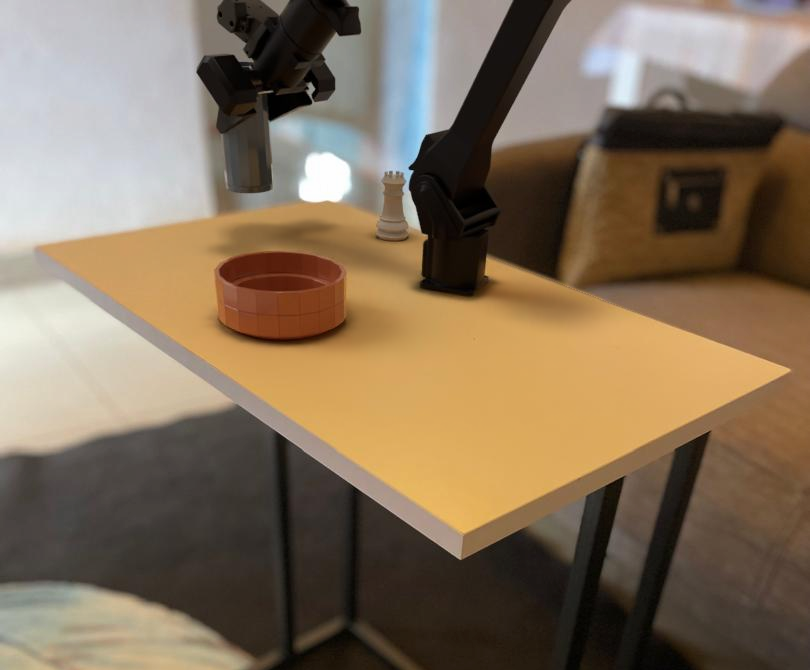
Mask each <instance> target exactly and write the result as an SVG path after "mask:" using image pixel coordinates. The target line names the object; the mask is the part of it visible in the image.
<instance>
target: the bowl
mask: <svg viewBox="0 0 810 670" xmlns="http://www.w3.org/2000/svg"><path fill="white" fill-rule="evenodd" d="M213 272H214V284H215V285H214V286H215V297H216V306H217V307H216V309H217V316H218V320H219V321H220V322H221V323H222V324H224V326H226V327H228V328H230V329H232V330H234V331H236V332H238V333H241V334H243V335H246V336H250V337H254V338H258V339H265V340H266V339H267V340H280V341H281V340H284V341H285V340H298V339H305V338H310V337H316V336H318V335H322V334H324V333H326V332H328V331H331V330H332V329H335V328H336V327H338V326H339V325H341V324H342V323H343V322H344V321H345V319H346V317H347V311H348V310H347V309H348V308H347V307H348V306H347V305H348V303H347V302H348V301H347V300H348V299H347V290H348V289H347V288H348V286H347V285H348V284H347V282H348V281H347V280H348V279H347V278H348V277H347V276H348V275H347V274H348V273H347V270H346V268H345V267H344V265H343V264H342V263H340V262H338V261H337V260H335V259H333V258H330V257H327V256H325V255H321V254H317V253H310V252H304V251H293V250H262V251H255V252H250V253H249V252H248V253H243V254H238V255H235V256H231V257H229V258H227V259H225V260H223V261H220V262H219V263H218V264H217V265H216V267H215V268H214V269H213Z"/></svg>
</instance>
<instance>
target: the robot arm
mask: <svg viewBox="0 0 810 670" xmlns="http://www.w3.org/2000/svg"><path fill="white" fill-rule="evenodd" d="M571 2H572V0H512V1H511V3H510V6H509V7H508V10H507V12H506V14H505V16H504V17H503V20H502V22H501V23H500V26H499V28H498V30H497V32H496V34H495V36H494V38H493V40H492V43H491V45H490V47H489V48H488V51H487V53H486V55H485V57H484V59H483V61H482V62H481V65H480V67H479V69H478V71H477V74H475V78H474V79H473V81H472V84H471V86H470V88H469V89H468V92H467V94H466V96H465V98H464V100H463V102H462V104H461V107H460V108H459V111H458V113H457V114H456V115H455V119H454V121H453V123H452V124H451V126H450V127H449V128H448V129H444V130H440V131H435V132H431V133H427V134H425V135H424V137H423V139H422V141H421V143H420V146H419V149H418V152H417V153H418V154H417V156H416V158H415V160H414V161H413V162H412V163H411V164H409V166H408V167H407V168H408V171H412V173H411V175H410V178H409V181H408V191H409V192H410V197H411V200H412V203H413V204H414V206H415V207H414V208H415V210H416V215H417V220H418V225H419V228H420V232H421V234H422V235H425V236H427V238H426V239H425V240H423V242H422V254H421V255H422V256H421V257H422V258H421V277H422V278H423V279H421V280H420V281H419V287H420V288H424V289H430V290H435V291H441V292H447V293H451V294H457V295H464V296H471V297H472V296H474V295H475V294H476V293H477V292H478V291H480V289H481V288H483V286H484V285H486V284H487V283H488V282H489V280H490V276H489V275H486V265H487V254H488V247H489V246H488V245H489V236H490V235H489V234H490V230H489V229H487V228H490V227H494V226H495V225H496V223H497V221H498V219H499V216H500V214H501V212H502V210H501V207H500V205H499V203H498V202H497V200H496V199H495V198H494V196H493V194H492V193H491V191H490V190H489V188H488V187H487V184H486V182H487V179H488V176H489V173H490V170H491V164H492V151H493V144H494V142H495V139H496V138H497V136H498V134H499V132H500V130H501V128H502V126H503V124H504V122H505V120H506V119H507V117H508V115H509V113H510V111H511V109H512V107H513V106H514V104H515V102H516V100H517V98H518V96H519V94H520V92H521V91H522V88H523V87H524V85H525V83H526V81H527V79H528V77H529V75H530V73H531V72H532V70H533V68H534V66H535V64H536V62H537V61H538V59H539V57H540V55H541V52H543V49H544V47H545V45H546V43H547V41H548V39H549V38H550V36H551V34H552V32H553V30H554V28H555V27H556V24H557V23H558V21H559V19H560V17H561V15H562V13H563V11H564V10H565V9H566V7H567V6H568V5H569V4H570V3H571ZM216 8H217V13H216V20H217V23H218V25H220V26H221V27H222V28H223V29H225V30H226V31H227V32H228V33H229V34H233V35H235V36H236V37H237V38H238V39H239V40H241V41H242V42H243V43H245V45H244V46H243V48H242V50H243V52H244V54H245V56H246V57H247V58H248V59H251V60H252V62H253V64H251V65H250V66H249V68H250V70H251V71H244V69H243V68H242V66H241V64H240V63H239V61H240V60H238V58H237V57H236V55H235V54H231V53H217V54H216V53H215V54H204V55H203V56H202V57H201V60H200V62H199V64H198V65H197V67H196V72H195V73H196V75H197V76H198V78H199V79H200V81H201V82H202V83H203V85H204V87H205V89H206V90H207V92H208V93H209V94H210V96H211V97H212V99H213V100H214V102H215V104H216V105H217V107H218V106H219V110H217V117H216V123H215V128H216V130H217V131H218V133H219V134H220V135H221V134H223V133H225V132H227V131H229V130H231V129H232V128H234V127H236V126H237V125H239V124H241V123H242V122H244V121H246V120H247V119H249V118H251V117H252V116H254V115H256V114H257V112H256V110H255V109H254V105H255V104H256V103H257V98H258V97H259V95H258V94H262V93H268V105H269V121H270V123H271V122H274V121H277V120H278V119H280V118H283V117H285V116H287V115H289V114H293V113H295V112H297V111H299V110H302V109H304V108H307V107H310V106H312V105H313V103H320V102H327V101H328V100H329V99H330V98H331V96H332V95H333V94H334V93H335V91H336V77H335V76H334V74H333V72H332V71H331V69H330V68H329V66H328V64H327V63H326V62H325V61H326V57H325V56H324V54H323V52H324V51H325V49H326V48H327V47H328V45H329V44H330V42H331V40H332V39H333V38H334V37H335V36H336V34H337V35H338V37H352V36H360V35H361V34H362V24H361V20H360V8H359V6H358V5H354V6H353V5H350V4H349V2H348V0H288V2H287V3H286V5H285V6H284V8H283V10H282V11H281V13H280V14H278V13H277V12H276V11H275V10H274V9H273V8H271V7H270V6H269V5H268V4H266V2H264V1H263V0H222V1H221V3H220V4H218V5H217V7H216ZM310 84H311V85H312V86H313V88H314V90H312V93H311V96H310V94H309V93H308V92H309V91H310V87H309V85H310Z"/></svg>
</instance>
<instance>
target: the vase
mask: <svg viewBox="0 0 810 670" xmlns="http://www.w3.org/2000/svg"><path fill="white" fill-rule="evenodd" d="M238 61H239V63H240V64H241V66H242V68H243V69H244V71H251V70H250V68H249V66H250V65H251V64H253V62H254V61H249V60H248V61H247V60H238ZM258 95H259V97H258V98H257V103H256V104H255V105H254V109H255V110H256V112H257V114H256V115H254V116H252V117H251V118H249V119H247V120H246V121H244V122H242V123H241V124H239V125H237V126H236V127H234V128H232V129H231V130H229V131H227V132H225V133H223V134H220V140H221V142H220V143H221V152H222V161H223V162H222V163H223V171H224V182H225V188H226V190H227V191H229V192H231V193H236V194H263V193H267V192H269V191H272V190H273V189H274V171H273V154H272V139H271V138H272V137H271V124H270V123H271V122H270V121H269V105H268V93H262V94H258ZM217 109H218V110H219V106H218V105H217ZM218 110H217V111H218Z"/></svg>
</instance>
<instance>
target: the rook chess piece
mask: <svg viewBox="0 0 810 670" xmlns="http://www.w3.org/2000/svg"><path fill="white" fill-rule="evenodd" d="M383 175H384V176H383V177H382V178H381V183H382V184H383V186H384V190H383V191H382V195H383V206H382V211H381V215H379V219H378V220H377V223H376V228H377V229H376V231H375V235H376V236H377V237H378V238H379V239H380V240H384V241H390V242H391V241H392V242H397V241H403V240H405V239H407V237H409V234H410V233H409V231H407V230H408V229H409V223H408V221H407V220H406V216H405V213H404V205H403V197H404V195H405V192H404V190H403V189H404V186H405V185H406V183H407V180H406V179H405V176H404V175H405V173H404V172H403V171H400V170H395V173H394V170H388V171H384V173H383Z"/></svg>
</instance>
